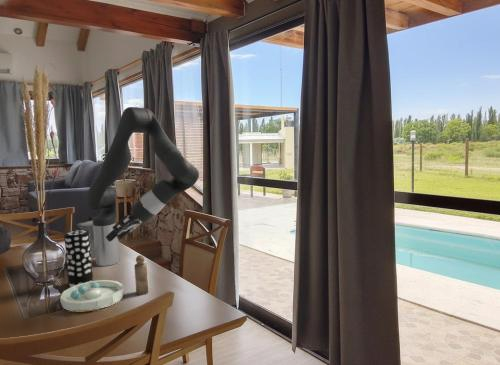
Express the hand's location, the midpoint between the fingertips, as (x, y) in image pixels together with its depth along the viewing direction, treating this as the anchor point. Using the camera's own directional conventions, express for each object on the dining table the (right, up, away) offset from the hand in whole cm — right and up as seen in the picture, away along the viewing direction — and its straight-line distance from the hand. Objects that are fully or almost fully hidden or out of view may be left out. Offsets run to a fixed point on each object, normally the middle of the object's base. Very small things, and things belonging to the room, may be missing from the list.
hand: (113, 238), depth 132 cm
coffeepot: (-26, -15, +51) cm, 59 cm away
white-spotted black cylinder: (-16, -19, +13) cm, 28 cm away
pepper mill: (+8, -19, +4) cm, 22 cm away
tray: (-7, -21, 0) cm, 22 cm away
